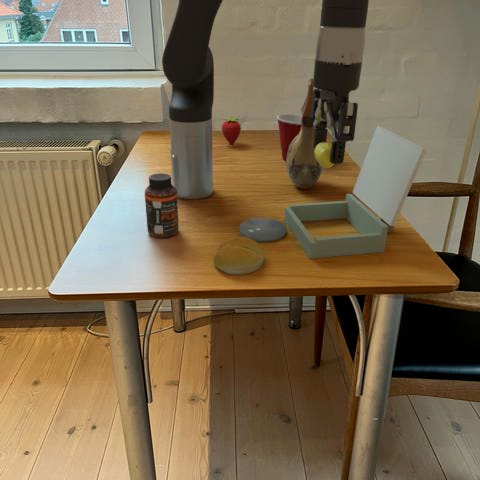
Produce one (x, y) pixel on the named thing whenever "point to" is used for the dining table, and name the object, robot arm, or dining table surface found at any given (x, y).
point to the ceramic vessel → (304, 149)
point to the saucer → (262, 229)
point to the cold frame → (365, 242)
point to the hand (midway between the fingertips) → (327, 155)
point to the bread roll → (239, 256)
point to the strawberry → (231, 130)
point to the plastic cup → (288, 130)
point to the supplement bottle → (161, 206)
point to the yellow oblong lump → (323, 154)
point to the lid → (388, 173)
